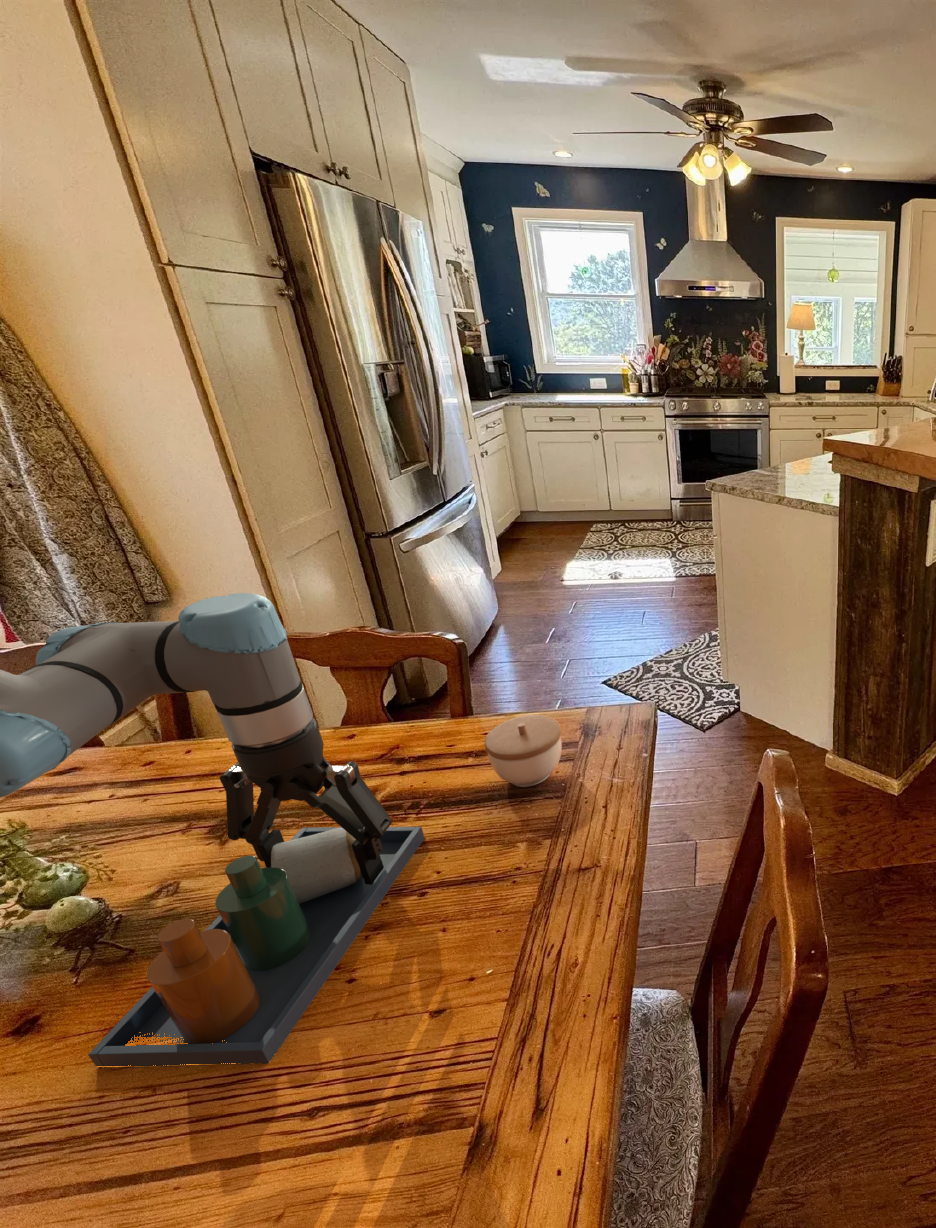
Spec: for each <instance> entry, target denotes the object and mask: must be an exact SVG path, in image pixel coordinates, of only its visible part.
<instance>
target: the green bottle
mask: <svg viewBox="0 0 936 1228" xmlns="http://www.w3.org/2000/svg"><path fill="white" fill-rule="evenodd" d="M224 873H225V875H226V877H227V879H228V881H229V883H228V884H226V886H225V887H223V889H221V891H220V892H219V893H218V895H217V896H216V899H215V903H214V904H215V907H216V909H217V912H218V914H219V915H221V917H222V919H223V921H224V924H225V926H226V928H227V930H228V932H229V934H230V936H231V938H232V940H233V942H234V944H235V946H236V948H237V950H238V952H239V954H240V956H241V958H242V960H243V962H244V964H245V966H246V967H247V968H248V969H250V970H254V971H264V970H269V969H273V968H275V967H278V966H280V965H282V964H284V963H286V962H288V961H290V960H291V959H293V958H294V957H295V956H297V955H298V954H299V953H300V952H301V951H302V950H303V949H304V948H305V947H306V945H307V944H308V942H309V940H310V938H311V930H310V928H309V926H308V923H307V921H306V918H305V916H304V914H303V911H302V909H301V907H300V904H299V902H298V899H297V897H296V895H295V892H294V890H293V888H292V885H291V883H290V880H289V878H288V876H287V873H286V872H285V871H284V870H282V869H280V868H275V867H270V868H265V867H263V868H262V866H261V865H260V862H259V859H258V857H257V856H255V855H250V854H249V855H244V856H241V857H237V858H236V859H234V860H232V861H231V862H229V863H228V864H227V866H226V867H225V869H224Z"/></svg>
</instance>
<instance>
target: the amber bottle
mask: <svg viewBox="0 0 936 1228" xmlns="http://www.w3.org/2000/svg"><path fill="white" fill-rule="evenodd" d="M156 939H157V942H158V943H159V945H160V947H161V949H162V951H161V952H160V953H159V954H158V955H157V956H156V957H155V958H154V959H153V961H152V962H151V963H150V965H149V967H148V969H147V972H146V977H147V981H148V982H149V983H150V985H151V987H153V989H154V990H155V992H156V994H157V995H158V997H159V999H160V1000H161V1002H162V1004H163V1005H164V1007H165V1009H166V1010H167V1012H168V1014H169V1015H170V1017H171V1019H172V1020H173V1022H174V1024H175V1026H176V1027H177V1029H178V1031H179V1032H180V1034H181V1036H182V1037H183V1039H184V1040H185V1042H186V1043H188V1044H212V1043H215V1042H218V1041H220V1040H222V1039H224V1038H226V1037H228V1036H230V1035H232V1034H233V1033H235V1032H236V1031H238V1030H239V1029H240V1028H241V1027H243V1026H244V1025H245V1024H246V1023H247V1022H248V1021H249V1020H250V1019H251V1018H252V1016H253V1015H254V1014H255V1012H256V1011H257V1009H258V1007H259V1004H260V995H259V993H258V991H257V989H256V987H255V985H254V983H253V981H252V979H251V977H250V975H249V973H248V971H247V969H246V967H245V965H244V963H243V961H242V959H241V957H240V955H239V953H238V951H237V949H236V947H235V945H234V943H233V941H232V939H231V937H230V935H229V933H228V932H226V931H224V930H221V929H209V930H206V929H205V930H199V927H198V925H197V924H196V921H195V920H194V919H192V918H182V919H178V920H175V921H173V922H171V923H169V924H167V925H166V926H165V927H163V928H162V929H161V930H160V931H159V932H158V934H157V937H156Z"/></svg>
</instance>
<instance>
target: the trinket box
mask: <svg viewBox="0 0 936 1228" xmlns="http://www.w3.org/2000/svg"><path fill="white" fill-rule="evenodd" d="M484 748H485V750H486V753H487V757H488V759H489V762H490V765H491V767H492V769H493V770H494V772H495V774H497V776H498V777H500V779H502V780H504V781H505V782H507V783H509V784H512V785H514V786H516V787H521V788H527V787H533V786H536V785H539V784H541V783H543V782H544V781H546V779H548V778H549V777H550V776H551V774H552V773H553V772H554V770H555V769H556V768H557V766H558V765H559V762H560V760H561V758H562V750H563V741H562V730H561V724H560V723H559V722H558V720H556V719H555V718H553V717H551V716H549V715H544V714H525V715H519V716H516V717H512V718H510V719H507V720H504V721H502V722H500V723H498V724H497V725H495V726H494V727H493V728H492V729H490V731H489V732H487V734H486V736H485V738H484Z"/></svg>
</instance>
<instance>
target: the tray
mask: <svg viewBox="0 0 936 1228" xmlns="http://www.w3.org/2000/svg"><path fill="white" fill-rule="evenodd" d="M337 828H342V827H341V826H339V827H338V826H337V827H336V826H332V827H331V826H329V827H328V826H327V827H323V826H321V827H319V826H318V827H317V826H316V827H301V828H300V829H299V831H297V833H295V835H293V836H292V838H291V839H290V840H294V839H298V838H302V837H306V836H310V835H314V834H318V833H322V832H325V831H329V830H332V829H337ZM364 828H365V827H364ZM364 828H363V829H364ZM424 840H425V834H424V832H423V827H422V826H389V827H388V829H387V830H386V831H385V833H384V834H383V835H382V836H381V838H380V841H381V844H382V847H383V850H382V852H381V854H380V857H381V860H382V863H383V866H384V868H383V870H382V871H381V872H380V874H379V875H378V876H377V878H376V879H375V881H374V882H373V883H372V884H365V881H364V879H363V876H362V878H361V879H360V880H359V881H357V882H356V883H354V884H352V885H350V886H347V887H345V888H342V889H339V890H336V891H334V892H331V893H328V894H325V895H322V896H320V897H317V898H314V899H312V900H309V901H306V902H303V903H300V907H301V909H302V911H303V914H304V916H305V918H306V921H307V923H308V926H309V928H310V930H311V938H310V940H309V942H308V944H307V945H306V947H305V948H304V949H303V950H302V951H301V952H300V953H299V954H298V955H297V956H295V957H294V958H293V959H291V960H290V961H288V962H286V963H284V964H282V965H280V966H278V967H275V968H273V969H269V970H264V971H254V970H250V969H248V968H247V967H246V966H245V967H246V969H247V971H248V973H249V975H250V977H251V979H252V981H253V983H254V985H255V987H256V989H257V991H258V993H259V995H260V1004H259V1007H258V1009H257V1011H256V1012H255V1014H254V1015H253V1016H252V1018H251V1019H250V1020H249V1021H248V1022H247V1023H246V1024H245V1025H244V1026H243V1027H241V1028H240V1029H239V1030H238V1031H236V1032H235V1033H233V1034H232V1035H230V1036H228V1037H226V1038H224V1039H222V1040H223V1042H222V1040H220V1041H218V1042H215V1043H213V1044H180V1040H181V1039H182V1040H181V1043H182V1041H183V1043H186V1042H185V1040H183V1038H180V1037H182V1036H181V1034H180V1032H179V1031H178V1029H177V1027H176V1026H175V1024H174V1022H173V1020H172V1019H171V1017H170V1015H169V1014H168V1012H167V1010H166V1009H165V1007H164V1005H163V1004H162V1002H161V1000H160V999H159V997H158V995H157V994H156V992H155V990H154V989H153V987H152V986H151V987H150V988H149V989H148V991H146V993H144V994H143V996H142V997H140V999H139V1000H138V1001H137V1002H136V1003H135V1004H134V1005H133V1006H132V1007H131V1008H130V1009H129V1011H127V1013H126V1014H125V1015H124V1016H123V1017H122V1018H121V1019H120V1020H119V1021H118V1022H117V1023H116V1024H115V1025H114V1027H113V1028H112V1029H110V1030H109V1032H108V1033H107V1034H106V1035H105V1036H104V1037H103V1038H102V1039H101V1040H100V1041H99V1042H98V1043H97V1044H96V1046H94V1047H93V1049H92V1050H91V1051H90V1052H89V1053H88V1054H87V1055H88V1057H89V1059H90V1060H91V1061H92V1063H93V1064H94V1066H95V1067H96V1066H128V1065H129V1066H130V1065H131V1066H153V1065H154V1066H155V1065H156V1066H163V1065H164V1066H163V1067H168V1066H167V1065H180V1064H181V1065H182V1064H183V1065H184V1064H185V1065H186V1064H221V1063H222V1064H223V1063H224V1064H225V1063H226V1064H227V1063H228V1064H229V1063H230V1064H231V1063H236V1065H239V1064H238V1063H241V1064H240V1065H247V1064H246V1063H249V1064H248V1065H251V1064H250V1063H257V1064H256V1065H261V1064H260V1063H263V1064H262V1065H264V1064H265V1063H266V1064H265V1065H268V1064H267V1063H269V1061H270V1060H271V1059H272V1060H273V1058H274V1057H275V1055H276V1054H277V1053H278V1051H279V1050H278V1049H280V1048H281V1047H282V1045H283V1044H284V1043H285V1041H286V1040H287V1038H288V1037H289V1035H290V1034H291V1032H292V1031H293V1029H294V1028H295V1026H296V1025H297V1024H298V1022H299V1020H300V1019H301V1018H302V1016H303V1015H304V1014H305V1012H306V1011H307V1009H309V1006H310V1005H311V1004H312V1002H313V1001H314V999H315V997H316V996H317V995H318V993H319V992H320V991H321V990H322V987H323V986H324V985H325V983H326V982H327V981H328V979H329V977H330V976H331V975H332V973H333V972H334V970H335V969H336V967H337V966H338V964H339V963H340V961H341V959H343V958H344V956H345V954H346V953H347V952H348V950H349V949H350V947H351V946H352V944H353V943H354V941H355V940H356V938H357V937H358V936H359V934H360V932H361V931H362V930H363V928H364V927H365V925H366V924H367V923H368V921H369V920H370V918H371V917H372V915H373V914H374V912H375V911H376V910H377V908H378V906H379V905H380V904H381V902H382V900H383V899H384V897H386V895H387V893H388V892H389V890H390V889H391V887H393V885H394V884H395V881H396V880H397V879H398V877H399V876H400V875H401V874H402V872H403V870H404V869H405V868H406V866H407V864H408V863H409V862H410V860H411V859H412V857H413V856H414V854H415V853H416V851H417V850H418V848H419V847H420V845H421V844H422V843H423V841H424ZM264 868H266V866H264ZM209 929H221V930H224V931H226V932H228V930H227V928H226V926H225V924H224V921H223V919H222V917H221V915H220V914H219V915H218V916H217V917H216V918H215V919H214V920H213V921H212V922H211V923H210V924H209V925H208V927H207V928H206V929H205V930H209ZM228 933H229V932H228ZM229 935H230V934H229ZM230 937H231V936H230ZM231 939H232V938H231ZM232 941H233V940H232ZM233 943H234V942H233ZM234 945H235V944H234ZM235 947H236V946H235ZM236 949H237V948H236ZM237 951H238V950H237ZM238 953H239V952H238ZM239 955H240V954H239ZM240 957H241V956H240ZM241 959H242V958H241ZM242 961H243V960H242ZM243 963H244V962H243ZM244 965H245V964H244ZM139 1032H141V1033H139ZM152 1032H153V1035H152ZM147 1033H148V1035H147ZM149 1033H150V1035H149ZM164 1033H165V1035H164ZM144 1034H146V1035H145V1036H144ZM157 1034H158V1036H157ZM159 1034H160V1036H159ZM174 1034H175V1035H174ZM134 1035H135V1037H137V1036H138V1037H139V1036H140V1035H141V1037H146V1038H147V1037H152V1036H153V1037H154V1035H155V1037H156V1038H157V1037H160V1038H161V1037H162V1038H163V1037H164V1036H165V1037H172V1039H173V1038H174V1037H175V1039H176V1037H177V1038H179V1041H178V1039H177V1042H178V1043H179V1044H175V1045H136V1046H125V1044H127V1043H128V1041H130V1040H131V1038H132V1037H133V1038H132V1040H133V1041H134ZM142 1035H143V1036H142ZM169 1035H170V1036H169ZM156 1038H155V1039H156ZM135 1039H136V1038H135ZM143 1039H144V1038H143ZM158 1039H159V1038H158ZM168 1039H169V1038H168ZM168 1039H167V1041H168ZM138 1040H139V1038H138ZM153 1040H154V1039H153ZM170 1040H171V1038H170ZM224 1040H225V1041H224ZM148 1041H149V1040H148ZM150 1041H151V1040H150ZM165 1041H166V1040H165ZM173 1041H174V1040H172V1043H173ZM175 1041H176V1040H175ZM135 1042H136V1041H135ZM137 1042H138V1041H137ZM143 1042H144V1041H143ZM160 1042H161V1040H160ZM162 1042H163V1040H162ZM177 1042H176V1043H177ZM226 1042H227V1043H226ZM130 1043H131V1042H130ZM132 1043H133V1042H132ZM155 1043H156V1041H155ZM164 1043H165V1042H164ZM167 1043H168V1042H167ZM275 1053H276V1054H275ZM274 1054H275V1055H274ZM273 1056H274V1057H273ZM272 1057H273V1058H272ZM272 1060H271V1061H272ZM271 1061H270V1062H271ZM244 1063H245V1064H244ZM258 1063H259V1064H258ZM269 1064H270V1063H269ZM165 1065H166V1066H165Z"/></svg>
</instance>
